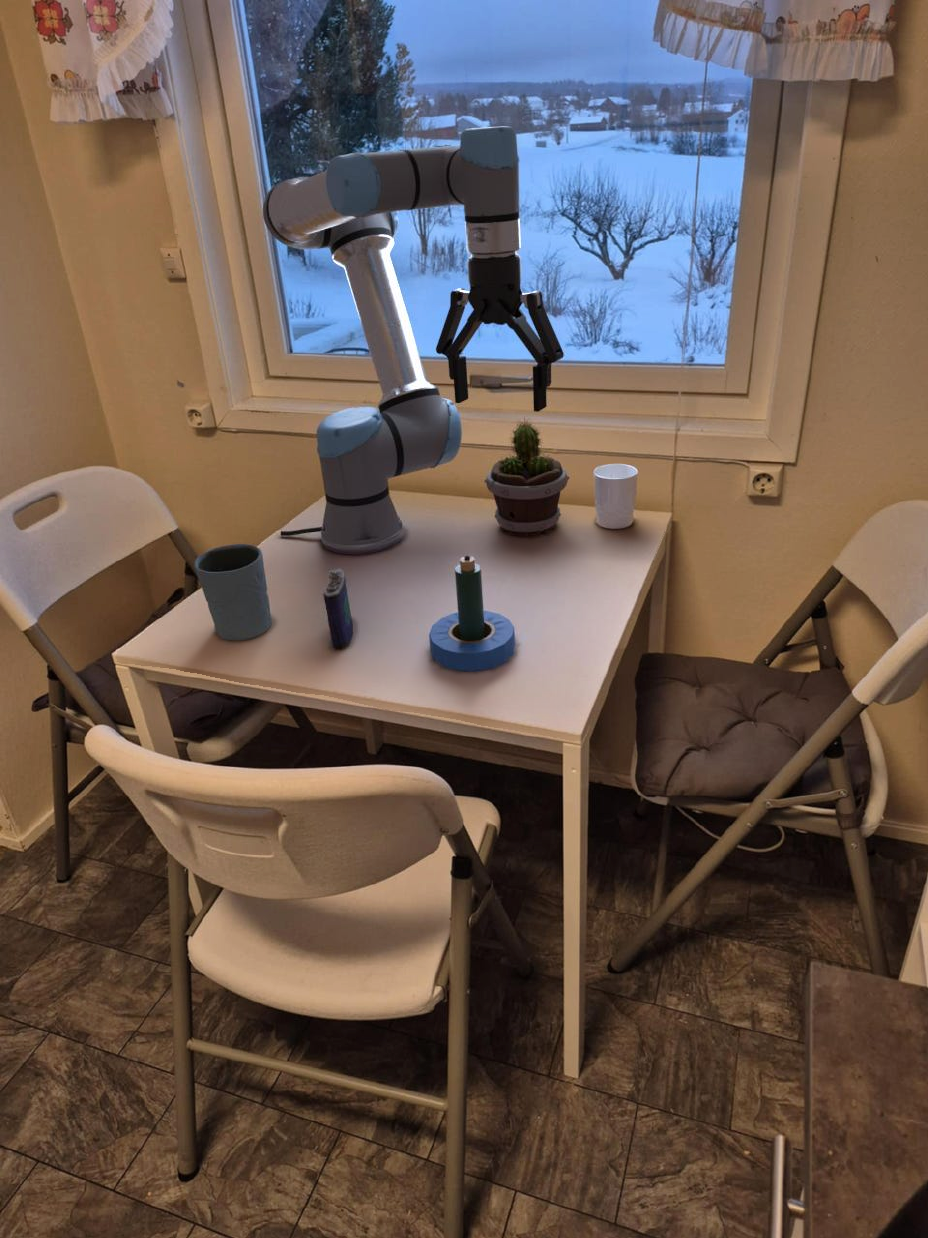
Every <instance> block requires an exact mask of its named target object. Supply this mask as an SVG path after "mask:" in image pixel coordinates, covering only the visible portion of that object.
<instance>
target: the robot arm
mask: <svg viewBox="0 0 928 1238" xmlns="http://www.w3.org/2000/svg"><path fill="white" fill-rule="evenodd" d="M518 152H519V151H518V138H517V132H516V130H515V129H514V128H513V127H512V126H510V125H501V126H487V127H474V128H473V127H472V128H466V129H464V130H463V131H462V132H461V134H460V143H459V145H451V144H444V145H434V146H433V147H431V146H430V147H422V148H420V147H419V148H409V149H400V150H387V151H373V152H360V151H356V152H355V151H354V152H350V153H347V154H342V155H336V156H333V157H332V158H331V159H330V160H329V163H328V166H327V168H326V170H324V171H322V172H319V173H316V174H314V175H312V176H299V177H293V178H289V179H286V180H282V181H281V182H278V183H277V184H275V185H273V186H272V187H271V188H270V189H269V191H268V192H267V193H266V195H265V196H264V200H263V204H262V216H263V221H264V224H265V226H266V228H267V230H268V231H269V233H270V234H271V235H272V237H273V238H274V239H276V240H277V241H278V242H280V244H282V245H285V246H286V247H289V248H293V249H298V250H320V249H329V251H330V254H331V259H332V260H333V263H335V264H336V265H338V266H340V267H341V268H343V269H344V271H345V275H346V278H347V282H348V285H349V288H350V291H351V295H352V298H353V302H354V305H355V308H356V311H357V314H358V318H359V321H360V324H361V327H362V331H363V334H364V337H365V340H366V341H365V342H366V344H367V347H368V351H369V354H370V357H371V360H372V364H373V367H374V371H375V373H376V376H377V379H378V383H379V387H380V390H381V393H382V395H381V399H380V401H379V403H378V404H377V408H378V409H377V408H376V407H375V406H374V407H373V406H365V405H364V406H358V407H355V406H354V407H349V408H345V409H342V410H339V411H336V412H334V413H332V414H330V415H328V416H327V417H325V418H323V419H322V420H321V422H320V423H318V425H317V428H316V442H317V447H316V452H317V455H318V459H319V464H320V471H321V477H322V484H323V491H324V496H325V507H324V514H323V519H322V525H321V526H317V527H310V528H302V529H296V530H295V529H294V530H288V531H286V530H281V531H280V536H284V537H285V536H286V537H289V536H296V535H297V536H298V535H302V534H310V533H319V532H320V535H321V542H322V545H323V547H325V549H327V550H329V551H331V552H334V553H337V554H342V555H343V554H344V555H363V554H369V553H370V554H371V553H375V552H376V553H377V552H380V551H383V550H386V549H388V548H390V547H393V546H394V545H396V544H397V543H399V542H400V541H401V540H402V539H403V537H404V522H403V518H402V516H401V518H400V516H399V515H398V512H397V510H396V507H395V504H394V503H393V499H392V498H391V495H390V489H389V479H392V478H396V477H399V476H403V475H408V474H411V473H414V472H419V471H423V470H427V469H435V468H437V467H438V466H442V465H445V464H447V463H450V462H452V461H453V460H454V459H456V457H457V455H458V453H459V451H460V448H461V444H462V439H463V432H462V431H463V428H462V420H461V415H460V412H459V410H458V408H457V406H456V405H455V404H462V403H463V402H465V401H467V400H468V399H469V385H468V369H467V356H465V355H463V354H464V353H463V352H464V350H465V349H466V347H467V346H468V344H469V343H470V342H471V340H472V339H473V337H474V336H475V334H476V332H477V331H478V329H479V328H480V326H481V325H482V324H484V325H491V324H495V325H498V326H504V325H507V327H508V328H509V329H511V330H513V332H514V333H515V334H516V336H517V337H518V338H519V340H520V341H521V342H522V344H523V346H524V347H525V348H526V350H527V351H528V352H529V354H530V355H531V356H532V358H533V359H534V361H535V362H536V364H535V365H533V366H532V390H533V391H532V395H533V396H532V397H533V400H532V402H533V412H537V413H539V412H540V411H542V410H544V409H545V408H548V407H547V406H548V405H547V388H549V387H551V385H552V364H553V363H556V362H558V361H560V360H561V359H563V358H564V356H565V353H564V351H563V348H562V345H561V343H560V341H559V340H558V339H559V338H558V337H557V334H556V332H555V330H554V327H553V326H552V323H551V321H550V318H549V316H548V314H547V312H546V309H545V307H544V299H543V293H542V291H541V290H538V289H537V290H534V291H532V292H525V293H524V292H523V291H522V287H521V283H522V256H520V254H519V253H517V252H518V251H519V250H520V249H521V248H522V247H521V223H520V222H521V221H520V169H519V168H520V155H519V154H518ZM447 206H449V207H450V206H463V209H464V211H463V212H464V227H465V242H466V252H467V253H468V254H470V256H468V258H467V260H466V263H467V281H468V285H469V290H466V289H465V288H464V287H461V288H457V289H453V290H451V291H450V294H449V296H450V297H449V299H450V300H449V301H450V302H449V308H448V312H447V315H446V318H445V321H444V324H443V326H442V329H441V332H440V335H439V338H438V340H437V344H436V347H435V352H436V353H437V354H438V355H443V356H445V357H446V358H447V362H448V363H447V364H448V376H449V379H450V380H452V381H453V389H454V390H453V391H454V402H453V401H452V400H451V399H448V398H445V397H444V398H443V397H442V396H441V394H440V393H441V392H440V391H439V390H440V389H439V388H438V386H437V385H434V384H433V383H431V382H429V381H428V379H427V376H426V371H425V369H424V365H423V363H422V359H421V356H420V352H419V349H418V346H417V342H416V339H415V335H414V332H413V329H412V326H411V322H410V319H409V315H408V312H407V309H406V305H405V302H404V300H403V295H402V292H401V288H400V285H399V283H398V278H397V275H396V272H395V268H394V266H393V262H392V259H391V255H390V253H391V251H392V249H393V247H394V246H395V240H394V238H395V237H396V235H397V234H398V232H399V225H400V223H399V222H400V219H399V217H398V214H399V212H403V211H411V210H412V211H413V210H423V209H432V208H440V207H447ZM468 303H469V305H470V306H471V308H472V309H473V310H472V311H471V313H470V314H469V316H468V318H466V322H465V324H464V325H463V327H462V329H461V330H460V331H459V333H458V335H457V332H458V329H459V326H460V323H461V321H462V318H463V315H464V312H465V309H466V306H467V305H468ZM523 304H524V306H523V307H524V308H525V309H527V311H528V316H529V318H530V319H531V322H532V325H533V326H534V329H535V330H534V329H533V328H532V326H531V325H530V324H529V322H528V321H527V316H526V315H525V314H524V312H523V311H522V310H521V306H522V305H523ZM535 331H536V332H535ZM456 335H457V336H456Z"/></svg>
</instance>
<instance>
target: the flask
mask: <svg viewBox="0 0 928 1238" xmlns="http://www.w3.org/2000/svg"><path fill="white" fill-rule="evenodd" d="M327 574H328V583H327V587H326V588H325V589H324V591H323V594H322V596H323V601H324V606H325V612H326V617H327V623H328V624H327V625H328V629H329V633H330V634H329V635H330V639H331V645H332V646H331V647H332V648H333V649H334V650H335V651H336V650H344V649H346V648H348V646H349V645H350V644H351V641H352V638H353V636H354V624H353V617H352V612H351V606H350V600H349V592H348V587H347V586H348V585H347V579H346V573H345V571H344V570H343V569H341V568H336V569H332V570H329V571H327Z"/></svg>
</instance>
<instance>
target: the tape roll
mask: <svg viewBox="0 0 928 1238" xmlns="http://www.w3.org/2000/svg"><path fill="white" fill-rule="evenodd" d="M483 611H484V628H485V638H484V639H481V640H477V641H463V640H460V631H459V618H458V611H456V612H452V613H451V614H448V615H445V616H443V617H441V618H440V619H439V620H436V622H435V623H434V624H432V626H431V628H430V631H429V647H430V653H431V655H432V658H433V660H434V662H436V663H438V664H439V665H441V666H442V667H444V668H447V669H450V670H454V671H457V672H479V671H485V670H491V669H494V668H495V667H496V668H497V667H498V666H500V665H502V664H504V663H506V662H507V661H508V660H509V659H510V658H511V657H512V656H513V654H514V651H515V648H516V646H515V645H516V639H515V626H514V625H513V623H512V622H511V620H510V619H509V618H507V617H506V616H504V615H503V614H501V613H497V612H493V611H489V610H483Z"/></svg>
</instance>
